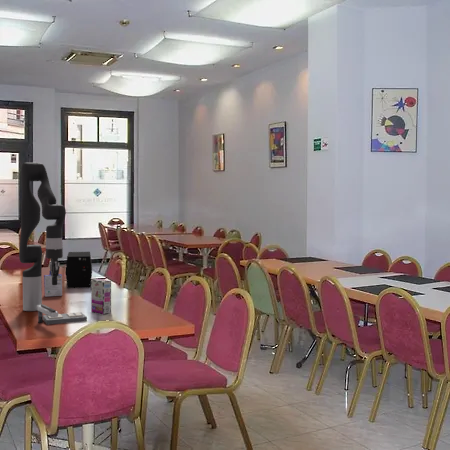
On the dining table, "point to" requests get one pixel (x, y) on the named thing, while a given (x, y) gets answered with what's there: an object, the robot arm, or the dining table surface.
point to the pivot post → (40, 317)
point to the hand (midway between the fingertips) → (54, 284)
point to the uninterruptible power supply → (78, 270)
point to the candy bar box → (101, 296)
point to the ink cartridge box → (52, 286)
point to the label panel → (65, 318)
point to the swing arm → (47, 310)
